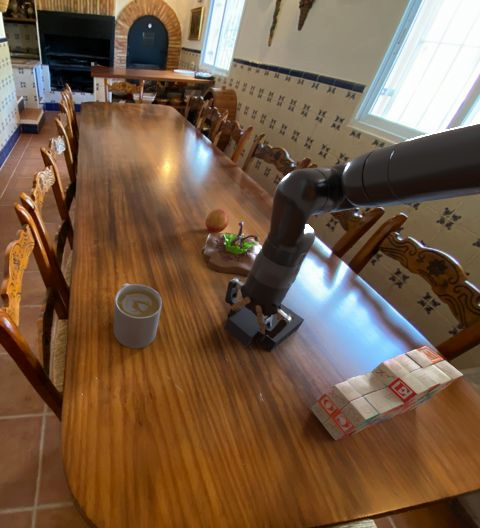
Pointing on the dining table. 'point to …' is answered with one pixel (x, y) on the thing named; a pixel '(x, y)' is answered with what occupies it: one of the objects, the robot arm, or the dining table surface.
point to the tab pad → (243, 326)
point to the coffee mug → (136, 315)
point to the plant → (231, 252)
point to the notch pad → (285, 333)
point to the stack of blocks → (384, 392)
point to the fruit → (216, 221)
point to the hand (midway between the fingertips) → (244, 329)
